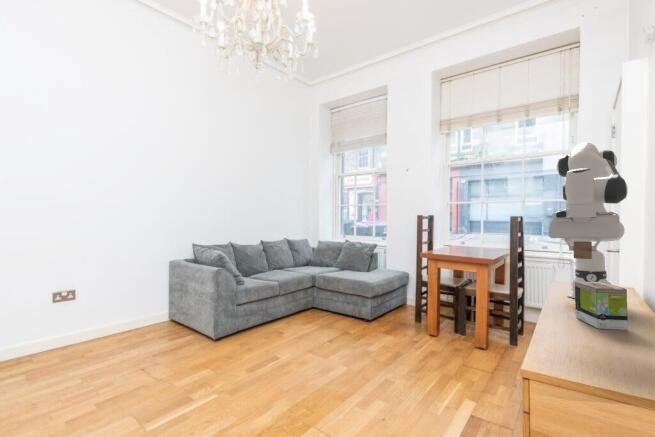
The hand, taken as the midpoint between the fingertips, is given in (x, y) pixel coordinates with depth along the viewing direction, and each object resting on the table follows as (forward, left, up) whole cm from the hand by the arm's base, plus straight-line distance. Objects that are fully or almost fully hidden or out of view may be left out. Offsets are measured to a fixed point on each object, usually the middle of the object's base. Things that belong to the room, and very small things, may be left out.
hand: (582, 250), depth 119 cm
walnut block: (0, 0, -3) cm, 3 cm away
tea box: (-10, +5, -28) cm, 31 cm away
